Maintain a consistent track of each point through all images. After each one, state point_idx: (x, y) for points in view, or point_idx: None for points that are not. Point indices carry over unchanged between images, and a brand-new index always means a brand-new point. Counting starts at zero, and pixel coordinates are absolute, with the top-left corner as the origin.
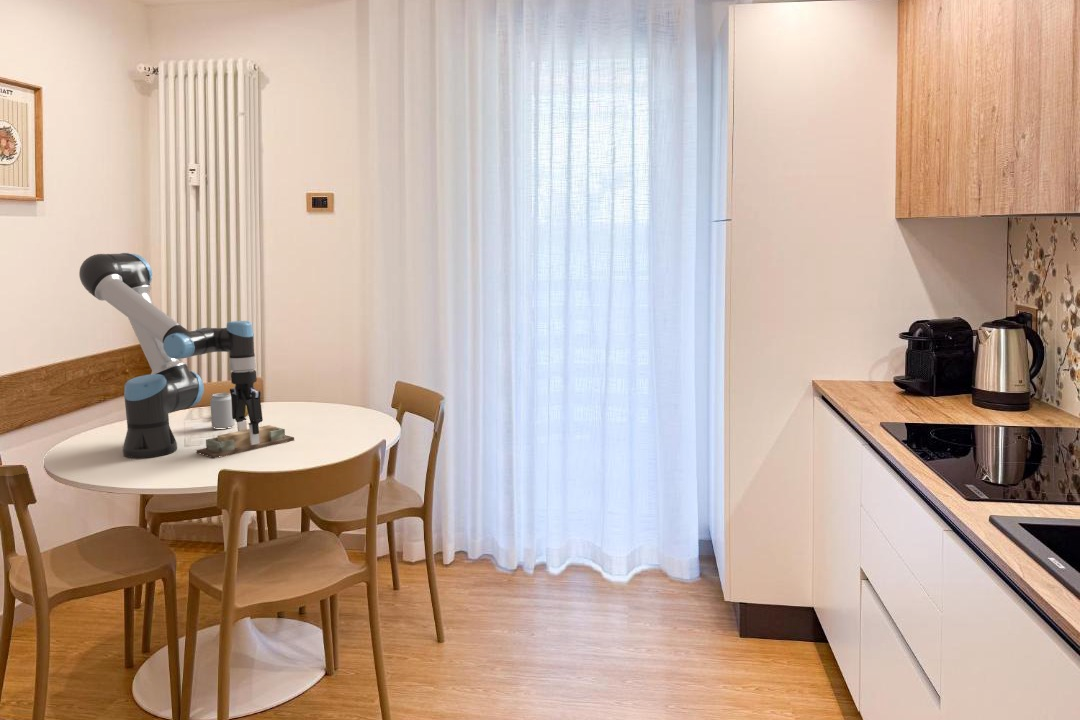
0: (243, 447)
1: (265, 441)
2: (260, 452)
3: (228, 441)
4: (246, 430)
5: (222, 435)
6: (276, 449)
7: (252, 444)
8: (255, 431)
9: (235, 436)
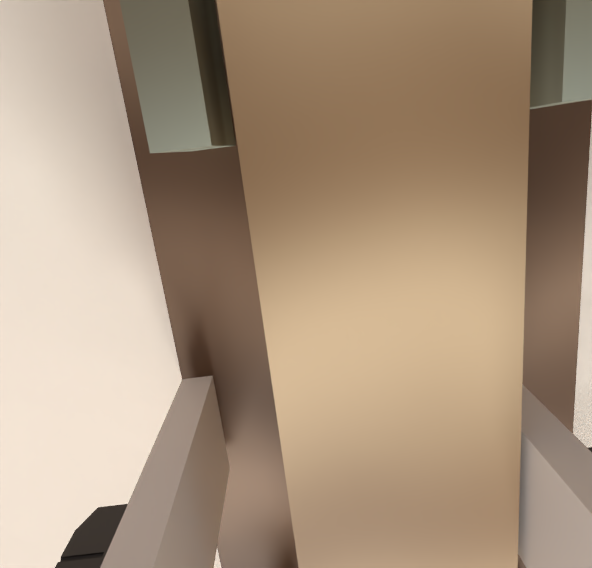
0: (208, 279)
1: None
2: (12, 361)
3: (130, 29)
4: (457, 531)
5: (433, 13)
6: (36, 513)
7: (183, 390)
8: (69, 562)
9: (256, 240)
